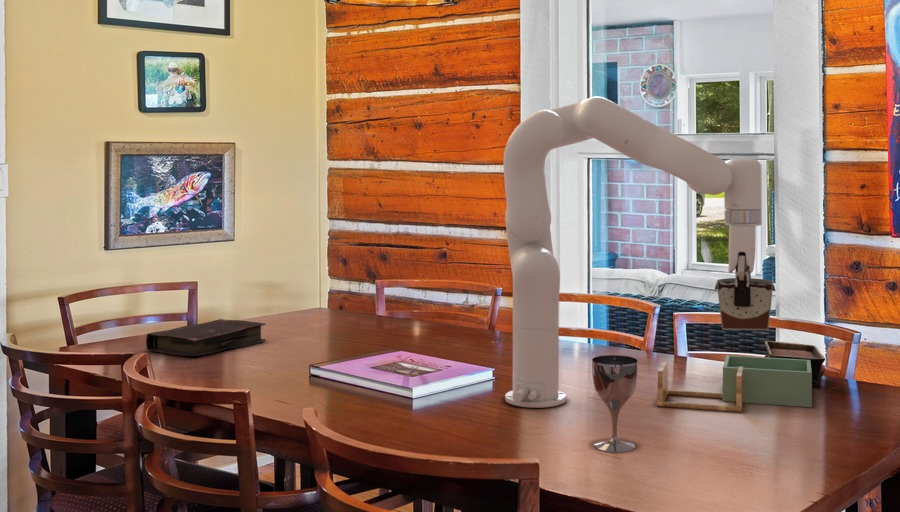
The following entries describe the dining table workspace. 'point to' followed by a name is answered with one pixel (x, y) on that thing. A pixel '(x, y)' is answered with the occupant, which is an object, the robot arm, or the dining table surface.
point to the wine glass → (614, 392)
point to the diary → (205, 337)
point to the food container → (745, 316)
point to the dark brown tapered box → (798, 356)
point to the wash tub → (769, 380)
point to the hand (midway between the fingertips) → (743, 303)
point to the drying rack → (696, 393)
